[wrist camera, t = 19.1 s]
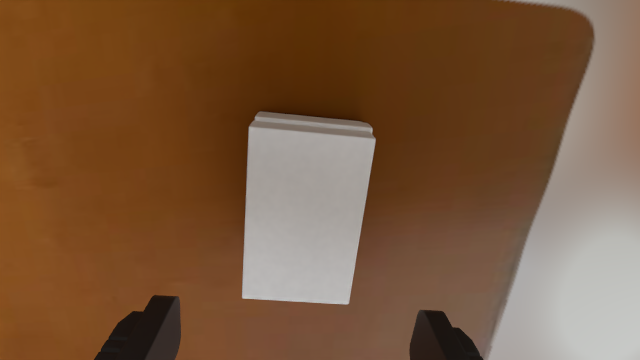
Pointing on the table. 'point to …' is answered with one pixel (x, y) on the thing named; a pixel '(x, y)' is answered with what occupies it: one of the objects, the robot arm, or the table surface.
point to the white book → (304, 211)
